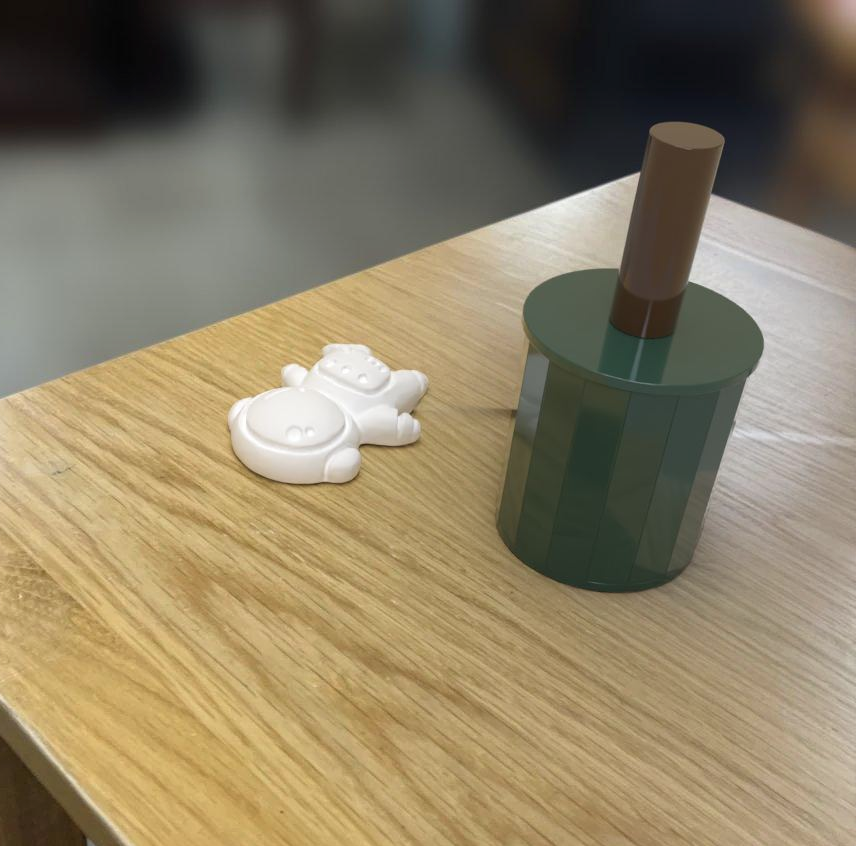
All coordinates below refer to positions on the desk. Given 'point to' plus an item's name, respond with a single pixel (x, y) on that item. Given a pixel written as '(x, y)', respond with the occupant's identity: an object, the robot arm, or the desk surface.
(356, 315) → the desk surface
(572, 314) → the lid
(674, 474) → the canister
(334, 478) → the white cartoon animal figure
